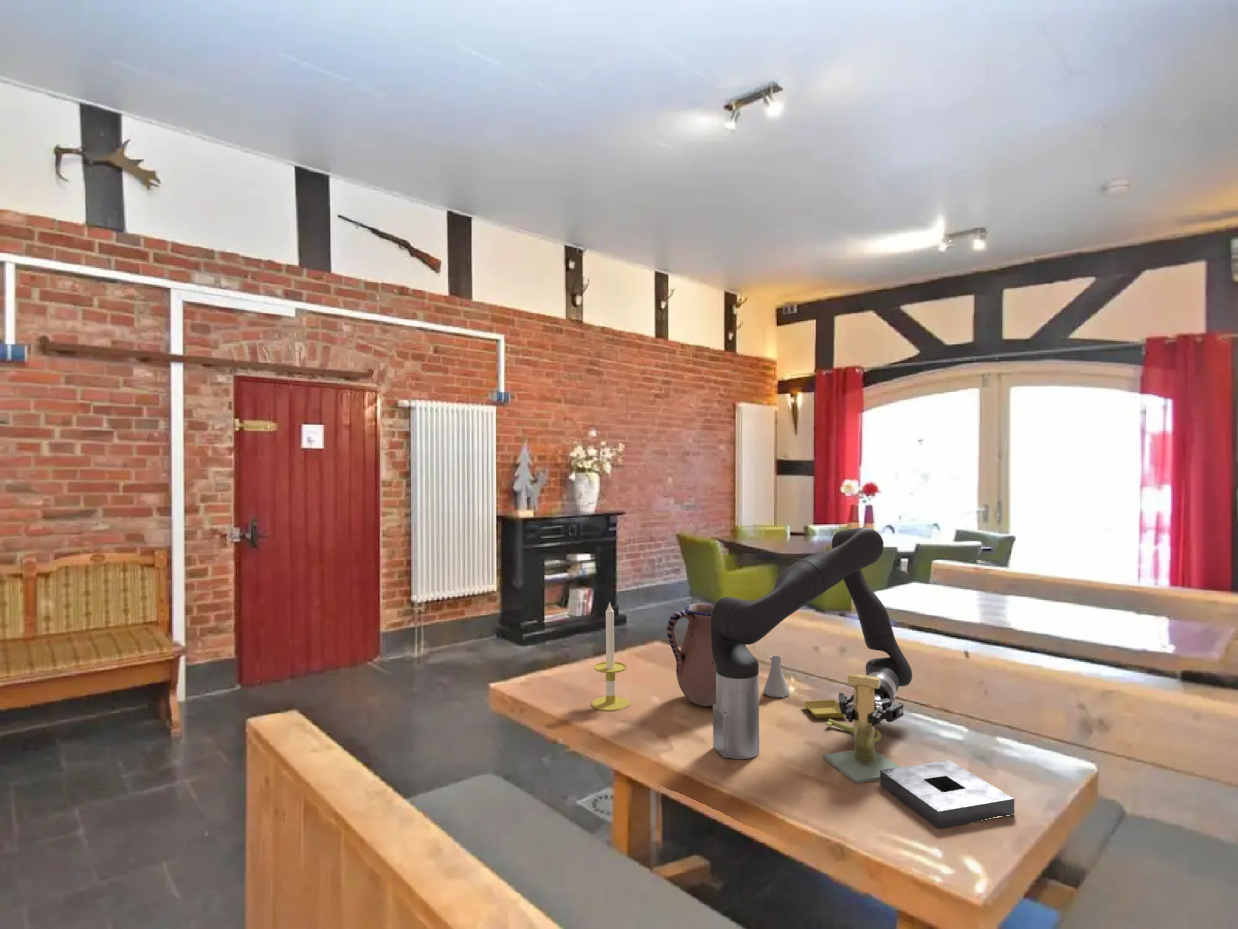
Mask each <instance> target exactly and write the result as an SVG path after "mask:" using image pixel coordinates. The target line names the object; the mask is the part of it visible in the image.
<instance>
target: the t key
mask: <svg viewBox="0 0 1238 929" xmlns="http://www.w3.org/2000/svg"><path fill="white" fill-rule="evenodd" d="M848 673H849V674H848V675H847V685H851V686H852V685H853V694H854V720H853V728H854V734H853V741H854V742H853V748H854V749H853V750H854V757H855V759H857V760H859V761H862V762H873V761H874V760H875V748H876V747H875V746H876V745H875V744H876V742H875V738H876V734H875V729H876V728H875V727H874V726H872V723H871V717H872V714H873V712H874V688H877V689H879V687H880V677H874V676H867V675H866V674H860V673H854V672H852V673H851V672H848Z"/></svg>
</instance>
